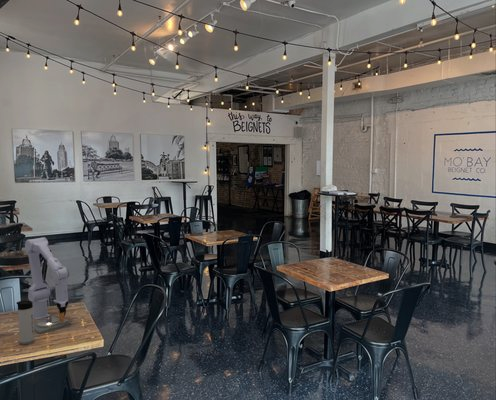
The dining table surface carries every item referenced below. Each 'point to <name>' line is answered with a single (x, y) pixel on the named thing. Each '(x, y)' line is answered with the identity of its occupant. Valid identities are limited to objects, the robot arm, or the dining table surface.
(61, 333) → the dining table surface
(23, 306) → the travel mug
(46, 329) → the base plate
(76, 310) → the dining table surface
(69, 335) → the dining table surface
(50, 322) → the lidded saucepan
